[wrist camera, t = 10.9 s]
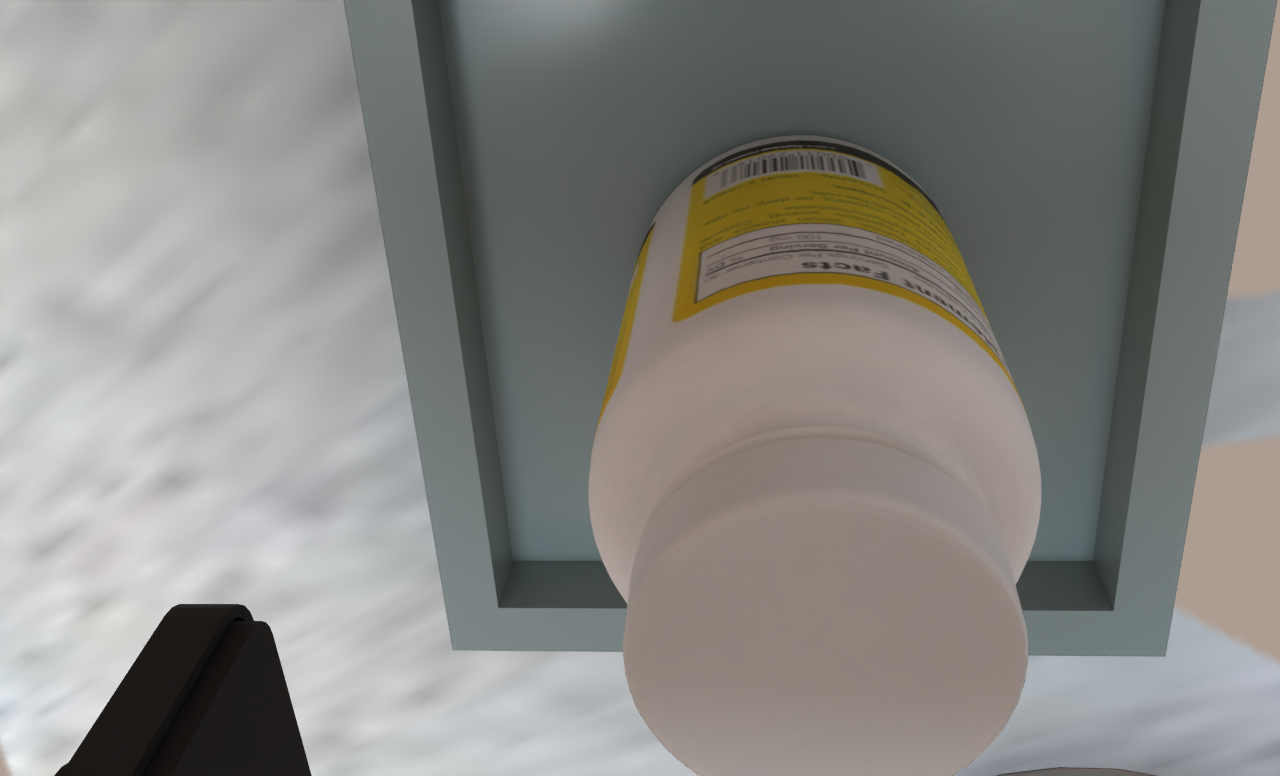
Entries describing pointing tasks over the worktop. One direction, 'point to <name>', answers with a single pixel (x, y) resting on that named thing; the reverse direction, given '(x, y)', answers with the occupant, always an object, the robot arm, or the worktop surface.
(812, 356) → the supplement bottle
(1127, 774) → the mate gourd
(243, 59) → the worktop surface
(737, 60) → the tray
